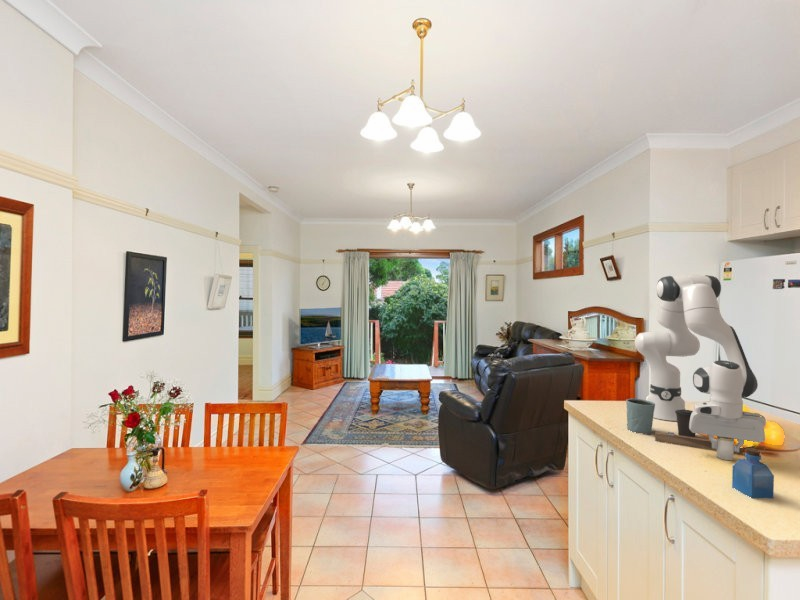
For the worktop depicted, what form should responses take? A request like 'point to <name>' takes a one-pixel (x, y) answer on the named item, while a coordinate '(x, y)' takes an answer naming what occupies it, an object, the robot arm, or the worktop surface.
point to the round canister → (725, 448)
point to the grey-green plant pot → (640, 415)
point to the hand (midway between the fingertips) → (725, 449)
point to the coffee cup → (684, 423)
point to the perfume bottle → (753, 476)
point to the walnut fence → (688, 441)
